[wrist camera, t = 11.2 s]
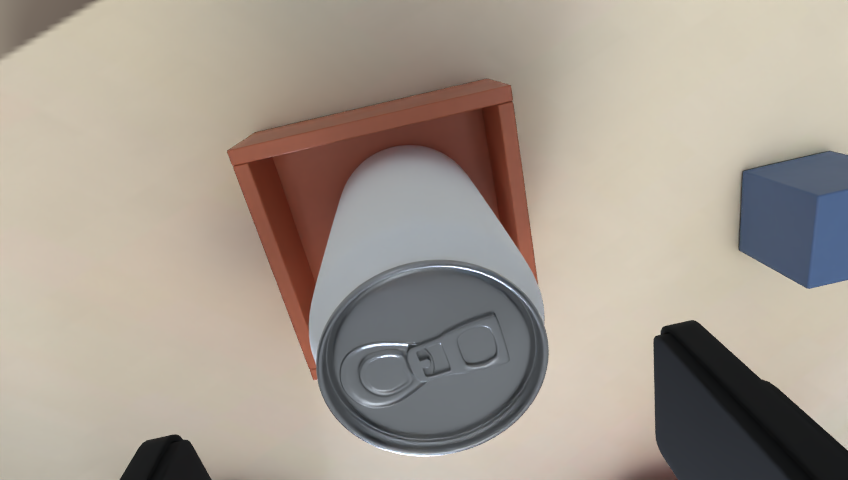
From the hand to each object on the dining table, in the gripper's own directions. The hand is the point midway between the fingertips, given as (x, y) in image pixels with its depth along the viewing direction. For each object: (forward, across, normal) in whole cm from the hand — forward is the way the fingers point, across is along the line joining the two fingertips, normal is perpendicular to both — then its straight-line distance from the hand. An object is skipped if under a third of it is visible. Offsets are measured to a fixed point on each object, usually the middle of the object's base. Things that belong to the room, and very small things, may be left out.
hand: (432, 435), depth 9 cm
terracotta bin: (+15, 0, +1) cm, 15 cm away
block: (+15, -19, +5) cm, 25 cm away
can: (+14, 0, 0) cm, 14 cm away
